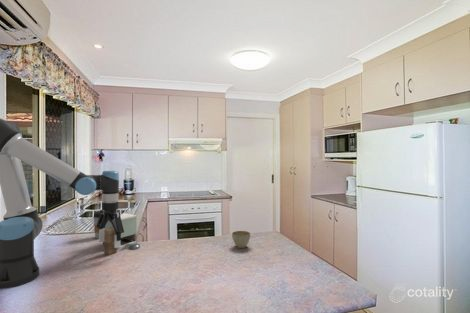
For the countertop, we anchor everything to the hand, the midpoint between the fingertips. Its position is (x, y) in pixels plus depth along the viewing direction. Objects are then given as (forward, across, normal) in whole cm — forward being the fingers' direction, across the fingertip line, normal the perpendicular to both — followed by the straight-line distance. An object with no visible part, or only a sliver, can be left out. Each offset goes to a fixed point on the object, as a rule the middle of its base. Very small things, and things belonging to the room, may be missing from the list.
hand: (109, 244), depth 131 cm
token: (+5, -3, -12) cm, 13 cm away
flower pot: (+4, -49, -45) cm, 67 cm away
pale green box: (+4, +10, -12) cm, 16 cm away
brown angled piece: (+4, 0, -7) cm, 8 cm away
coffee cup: (+5, +29, -12) cm, 31 cm away
